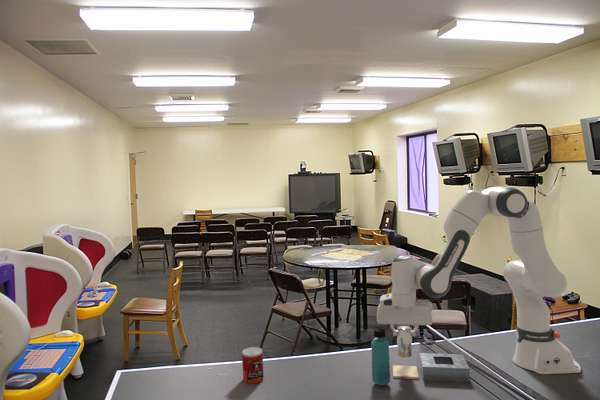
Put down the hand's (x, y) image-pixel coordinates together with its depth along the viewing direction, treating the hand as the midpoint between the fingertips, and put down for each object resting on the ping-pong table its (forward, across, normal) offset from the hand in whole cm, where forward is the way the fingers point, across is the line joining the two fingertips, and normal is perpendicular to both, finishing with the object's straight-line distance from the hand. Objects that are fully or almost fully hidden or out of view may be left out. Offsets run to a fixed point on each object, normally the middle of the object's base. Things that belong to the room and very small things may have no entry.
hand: (404, 335), depth 162 cm
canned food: (+15, +56, +11) cm, 59 cm away
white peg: (+7, 0, 0) cm, 7 cm away
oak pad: (+14, 0, 0) cm, 14 cm away
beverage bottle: (+15, +9, +10) cm, 20 cm away
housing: (+14, -14, -1) cm, 20 cm away
